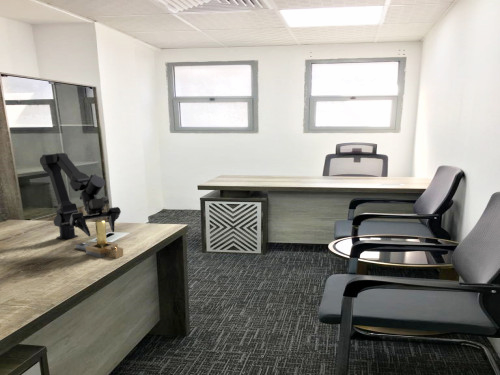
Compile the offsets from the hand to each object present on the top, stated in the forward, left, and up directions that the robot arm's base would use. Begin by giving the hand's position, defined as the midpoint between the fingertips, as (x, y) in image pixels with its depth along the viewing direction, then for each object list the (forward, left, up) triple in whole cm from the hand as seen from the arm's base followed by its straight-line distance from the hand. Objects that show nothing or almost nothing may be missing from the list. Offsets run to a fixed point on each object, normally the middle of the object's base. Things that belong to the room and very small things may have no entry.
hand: (101, 233), depth 146 cm
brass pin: (-1, 0, -8) cm, 8 cm away
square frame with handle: (-3, 0, -8) cm, 9 cm away
